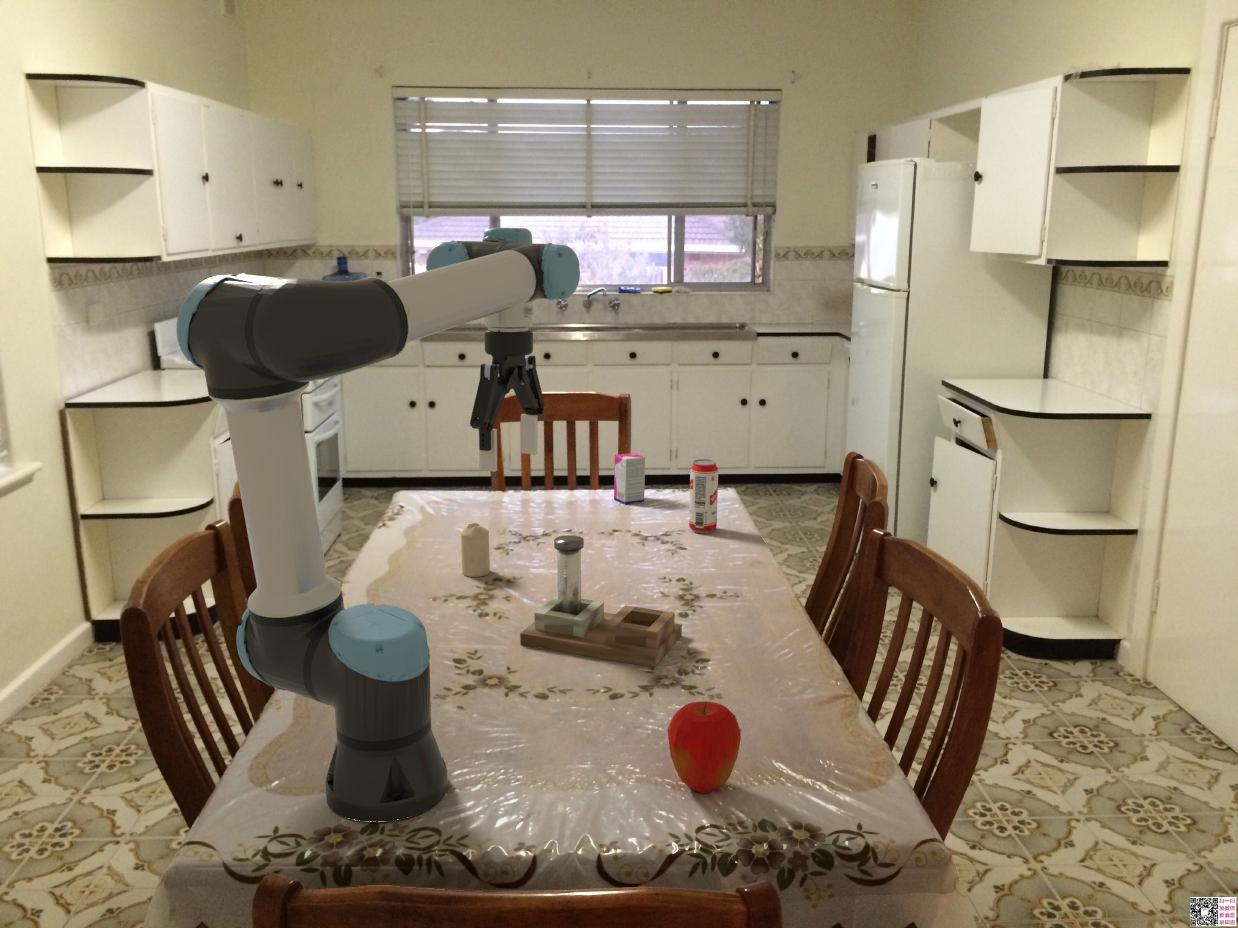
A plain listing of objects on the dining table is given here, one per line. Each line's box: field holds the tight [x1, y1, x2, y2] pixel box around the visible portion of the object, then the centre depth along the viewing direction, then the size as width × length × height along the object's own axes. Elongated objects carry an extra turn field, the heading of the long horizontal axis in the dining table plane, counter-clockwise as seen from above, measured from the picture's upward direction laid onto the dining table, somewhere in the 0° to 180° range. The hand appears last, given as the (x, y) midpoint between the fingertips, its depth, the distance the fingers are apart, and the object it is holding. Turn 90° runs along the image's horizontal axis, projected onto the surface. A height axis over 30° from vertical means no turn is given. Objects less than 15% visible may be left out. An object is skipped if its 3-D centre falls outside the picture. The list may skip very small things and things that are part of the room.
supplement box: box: [613, 452, 646, 505], centre depth 263 cm, size 6×6×12 cm
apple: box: [666, 700, 742, 794], centre depth 135 cm, size 9×9×12 cm
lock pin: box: [553, 534, 585, 615], centre depth 181 cm, size 5×5×15 cm
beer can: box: [688, 458, 719, 534], centre depth 239 cm, size 6×6×16 cm
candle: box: [460, 522, 491, 578], centre depth 212 cm, size 6×6×10 cm
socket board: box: [519, 594, 683, 668], centre depth 181 cm, size 14×24×5 cm, turn 68°
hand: (509, 461), depth 170 cm, fingers open, 13 cm apart
